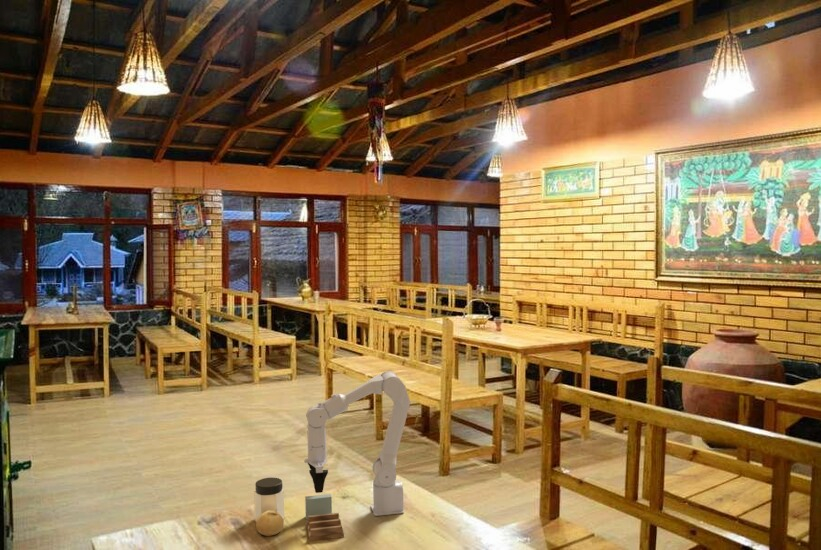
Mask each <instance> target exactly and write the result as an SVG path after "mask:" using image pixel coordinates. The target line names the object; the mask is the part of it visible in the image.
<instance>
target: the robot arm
mask: <svg viewBox="0 0 821 550" xmlns="http://www.w3.org/2000/svg"><path fill="white" fill-rule="evenodd" d="M383 392H384V394H385V395H387V396H388V397H389V398H390V399H391V401H392V402H393V406H392V409H391V413H390V417H389V421H388V424H387V429H386V432H385V436H384V440H383V444H382V446H381V447H382V448H381V450H380V452H379V453H378V456H377V458H376V460H375V461H374V462H373V463H372V472H373V474H374V479H373V481H372V489H373V490H372V491H373V492H372V494H373V495H372V496H373V497H372V498H373V500H372V502H373V504H370V509H371V510H372V513H373V515H374V517H378V516H388V515H389V516H390V515H396V514H397V515H398V514H404V513H405V511H404V486H403V483H402V481H400V480H397V470H396V469H397V455H398V451H399V447H400V443H401V440H402V436H403V432H404V428H405V424H406V420H407V417H408V414H409V413H408V412H409V410H410V409H409V408H410V406H411V405H410V404H411V401H410V397H409V394H408V393H409V392H408V391H407V387H406V385H405V384H404V382H403V381H402V380H401V379H400V377H398V376H397V374H396V373H395V372H393V371H391V370H386V371H383V372H382V373H381V374H380V373H379V374H377V375H375V376H373V377H372V378H370V379H368V380H367V381H365V382H364V383H362V384H360V385H359V386H357V387H355V388H353V389H352V390H350V391H348V392H347V393H345V394H342V393H337V394H336V393H332V394H331V395H330V396H331V397H329V398H328V399H326V400H324V401H322V402H321V401H319V402H317V405H316V404H313V405H312V406H310V407H309V408H308V410H307V412H306V413H305V415H306V420H307V431H306V432H307V458H304V459H303V461H304V463H305V464H307V465H308V467H309V470H308V471H309V475H310V476H311V479H312V482H313V487H314V492H315V493H316V494H317V493H323V492H324V486H325V480H326V478H327V476H328V473H329V470H328V469H324V466H325V464H326V463H327V462H328V457H327V432H326V431H327V430H326V423H327V421H329V420H331V419H333V418H335V417H336V416H339V415H340V414H342V413H344V412H345V411H347V410H348V408H349V406H350V404H352V403H355V402H357V401H359V400H361V399H363V398H364V397H367V396H369V395H372V394H376V395H383Z"/></svg>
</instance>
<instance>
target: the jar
mask: <svg viewBox="0 0 821 550" xmlns="http://www.w3.org/2000/svg"><path fill="white" fill-rule="evenodd" d="M253 495H254V497H253V498H254V500H253V501H254V502H253V503H254V521H255V522H257V519H258V518H259V516H260V515H261V514H262V513H264V512H265V511H268V510H271V511H275V510H276V509H277V511H276V512H278V513H279V514H280V515H281V516H282V518H283V520H284V519H285V489H284V488H283V480H282V479H281V478H279V477H265V478H261V479H257V481H255V490H254V491H253Z"/></svg>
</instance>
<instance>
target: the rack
mask: <svg viewBox="0 0 821 550" xmlns="http://www.w3.org/2000/svg"><path fill="white" fill-rule="evenodd" d="M306 527H307V528H306V529H307V532H308V533H307V535H308V540H309V541H311V542H312V541H319V540H328V539H329V540H331V539H339V538H344V537H345V532H344V529H343V525H342V520H341V518H340V514H339V512H332V513H330V514H321V515H312V516H308V520H307V522H306Z"/></svg>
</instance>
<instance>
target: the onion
mask: <svg viewBox="0 0 821 550" xmlns="http://www.w3.org/2000/svg"><path fill="white" fill-rule="evenodd" d="M276 511H277V509H276V510H275V511H271V510H268V511H265V512H264V513H262V514H261V515H260V516H259V518H258V519H257V522H256V521H255V522H256V523H255V528H256V530H257V532H258V533H259V534H260V535H262V536H264V537H271V536H275V535H277V534H279V533H280V532H281V531H282V530H283V529H284V524H285V523H284V519H283V518H282V516H281V515H280V514H279V513H278V512H276Z"/></svg>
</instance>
